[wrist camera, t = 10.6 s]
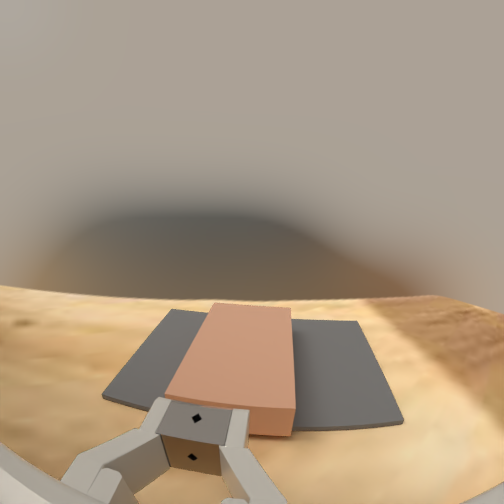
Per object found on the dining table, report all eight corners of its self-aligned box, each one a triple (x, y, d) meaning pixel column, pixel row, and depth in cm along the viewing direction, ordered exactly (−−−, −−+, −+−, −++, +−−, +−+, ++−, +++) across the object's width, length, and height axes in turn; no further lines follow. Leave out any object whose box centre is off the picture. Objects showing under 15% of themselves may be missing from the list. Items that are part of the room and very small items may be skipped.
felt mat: (103, 398, 16) (101, 394, 16) (171, 312, 30) (171, 308, 30) (401, 423, 14) (403, 419, 14) (356, 324, 29) (357, 320, 28)
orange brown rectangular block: (164, 393, 14) (214, 302, 26) (170, 423, 14) (214, 327, 27) (295, 408, 13) (290, 307, 26) (290, 438, 14) (288, 332, 26)
